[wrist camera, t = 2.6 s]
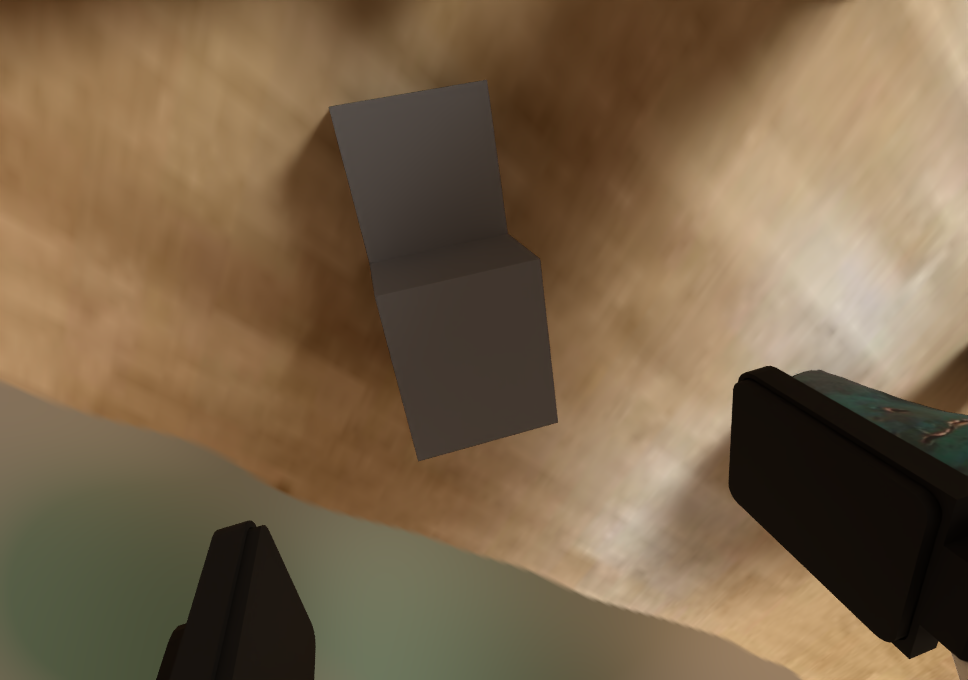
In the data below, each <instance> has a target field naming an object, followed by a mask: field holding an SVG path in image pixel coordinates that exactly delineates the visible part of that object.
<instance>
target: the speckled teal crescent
mask: <svg viewBox="0 0 968 680" xmlns="http://www.w3.org/2000/svg"><path fill="white" fill-rule="evenodd" d="M793 378H795V379H797V380H799V381H800V382H802V383H804V384H806V385H807V386H809V387H811V388H813V389H815V390H816V391H818V392H820V393H822V394H823V395H825V396H827V397H829V398H830V399H832V400H834V401H836V402H837V403H839V404H841V405H843V406H845V407H846V408H848V409H850V410H852V411H853V412H855V413H857V414H859V415H860V416H862V417H864V418H866V419H867V420H869V421H871V422H873V423H875V424H876V425H878V426H880V427H882V428H883V429H885V430H887V431H889V432H890V433H892V434H894V435H896V436H897V437H899V438H901V439H903V440H905V441H906V442H908V443H910V444H912V445H913V446H915V447H917V448H919V449H920V450H922V451H924V452H926V453H927V454H929V455H931V456H933V457H935V458H936V459H938V460H940V461H942V462H943V463H945V464H947V465H949V466H950V467H952V468H954V469H956V470H957V471H959V472H961V473H963V474H965V475H966V476H968V415H963V414H957V413H950V412H945V411H941V410H938V409H934V408H930V407H927V406H923V405H920V404H916V403H913V402H909V401H906V400H903V399H900V398H897V397H895V396H892V395H889V394H887V393H884V392H881V391H878V390H875V389H872V388H868V387H866V386H863V385H861V384H858V383H855V382H853V381H850V380H848V379H845V378H842V377H839V376H836V375H833V374H829V373H826V372H824V371H822V370H817V371H813V370H810V371H806V372H803V373H800V374H798V375H796V376H794V377H793Z"/></svg>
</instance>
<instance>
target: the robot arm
mask: <svg viewBox="0 0 968 680" xmlns="http://www.w3.org/2000/svg"><path fill="white" fill-rule="evenodd" d="M729 489H730V492H731V494H732V496H733V498H734V499H735V500H736V502H737V503H738V504H739V505H740V506H741V507H742V508H744V509H745V510H746V511H747V512H748V513H749V514H750V515H751V516H752V517H753V518H754V519H755V520H756V521H757V522H758V523H759V524H760V525H761V526H762V527H763V528H764V529H765V530H766V531H767V532H769V533H770V534H771V535H772V536H773V537H774V538H775V539H776V540H777V541H778V542H779V543H780V544H781V545H782V546H783V547H784V548H785V549H786V550H787V551H788V552H789V553H790V554H791V555H793V556H794V557H795V558H796V559H797V560H798V561H799V562H800V563H801V564H802V565H803V566H804V567H805V568H806V569H807V570H808V571H809V572H810V573H811V574H812V575H813V576H814V577H815V578H817V579H818V580H819V581H820V582H821V583H822V584H823V585H824V586H825V587H826V588H827V589H828V590H829V591H830V592H831V593H832V594H833V595H834V596H835V597H836V598H837V599H838V600H839V601H840V602H842V603H843V604H844V605H845V606H846V607H847V608H848V609H849V610H850V611H851V612H852V613H853V614H854V615H855V616H856V617H857V618H858V619H859V620H860V621H861V622H862V623H863V624H864V625H866V626H867V627H868V628H869V629H870V630H871V631H872V632H873V633H874V634H875V635H876V636H877V637H879V638H880V639H882V640H884V641H886V642H892V643H893V644H894V645H895V646H896V647H897V648H898V649H899V650H900V651H901V652H902V653H903V654H904V655H905V656H907V657H908V658H909V659H911V658H913V657H916V656H918V655H920V654H923V653H925V652H927V651H930V650H932V649H935V648H936V646H937V643H938V641H939V642H940V643H941V644H942V645H944V646H945V647H946V648H947V649H948V650H949V651H951V653H952V656H953V659H954V662H955V666H956V669H957V672H958V675H959V679H960V680H968V476H966V475H965V474H963V473H961V472H959V471H957V470H956V469H954V468H952V467H950V466H949V465H947V464H945V463H943V462H942V461H940V460H938V459H936V458H935V457H933V456H931V455H929V454H927V453H926V452H924V451H922V450H920V449H919V448H917V447H915V446H913V445H912V444H910V443H908V442H906V441H905V440H903V439H901V438H899V437H897V436H896V435H894V434H892V433H890V432H889V431H887V430H885V429H883V428H882V427H880V426H878V425H876V424H875V423H873V422H871V421H869V420H867V419H866V418H864V417H862V416H860V415H859V414H857V413H855V412H853V411H852V410H850V409H848V408H846V407H845V406H843V405H841V404H839V403H837V402H836V401H834V400H832V399H830V398H829V397H827V396H825V395H823V394H822V393H820V392H818V391H816V390H815V389H813V388H811V387H809V386H807V385H806V384H804V383H802V382H800V381H799V380H797V379H795V378H793V377H792V376H790V375H788V374H786V373H784V372H783V371H781V370H779V369H777V368H775V367H773V366H766V367H762V368H759V369H756V370H752V371H749V372H746V373H743V374H742V375H741V376H740V377H739V380H738V383H736V384H735V385H734V389H733V404H732V424H731V444H730V464H729ZM314 670H315V635H314V630H313V626H312V624H311V621H310V619H309V617H308V615H307V612H306V610H305V608H304V606H303V604H302V602H301V599H300V597H299V595H298V593H297V591H296V589H295V586H294V584H293V582H292V580H291V578H290V576H289V573H288V571H287V569H286V567H285V564H284V562H283V560H282V558H281V556H280V554H279V551H278V549H277V547H276V545H275V543H274V540H273V539H272V536H271V534H270V532H269V530H268V528H267V527H266V526H265V525H262V526H258V527H256V525H255V523H254V522H253V521H246V522H242V523H239V524H236V525H232V526H229V527H226V528H222V529H219V530H217V531H216V532H215V533H214V535H213V537H212V540H211V543H210V547H209V550H208V553H207V557H206V560H205V564H204V567H203V570H202V573H201V577H200V580H199V583H198V587H197V590H196V593H195V597H194V600H193V603H192V607H191V610H190V613H189V617H188V620H187V623H186V624H183V625H180V626H178V627H177V628H176V629H175V630H174V631H173V633H172V635H171V637H170V639H169V642H168V645H167V648H166V651H165V654H164V657H163V660H162V663H161V666H160V669H159V672H158V676H157V679H156V680H314Z"/></svg>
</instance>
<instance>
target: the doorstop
mask: <svg viewBox="0 0 968 680" xmlns="http://www.w3.org/2000/svg"><path fill="white" fill-rule="evenodd" d="M329 110H330V114H331V118H332V122H333V125H334V129H335V133H336V137H337V141H338V145H339V148H340V152H341V156H342V160H343V164H344V168H345V171H346V175H347V179H348V183H349V187H350V190H351V194H352V198H353V202H354V206H355V210H356V213H357V217H358V221H359V225H360V229H361V233H362V236H363V240H364V244H365V248H366V252H367V256H368V259H369V263H370V269H371V276H372V282H373V289H374V295H375V300H376V303H377V307H378V311H379V315H380V319H381V322H382V326H383V330H384V334H385V337H386V341H387V345H388V349H389V353H390V356H391V360H392V364H393V368H394V371H395V375H396V379H397V383H398V387H399V390H400V394H401V398H402V402H403V405H404V409H405V413H406V417H407V421H408V424H409V428H410V432H411V436H412V439H413V443H414V447H415V451H416V455H417V458H418V461H422V460H425V459H429V458H432V457H436V456H439V455H443V454H447V453H450V452H454V451H457V450H461V449H465V448H468V447H472V446H475V445H479V444H482V443H486V442H490V441H493V440H497V439H500V438H504V437H508V436H511V435H515V434H518V433H522V432H525V431H529V430H533V429H536V428H540V427H543V426H547V425H551V424H554V423H558V418H557V409H556V399H555V390H554V381H553V372H552V363H551V354H550V345H549V335H548V326H547V317H546V308H545V299H544V290H543V280H542V271H541V262H540V258H538V257H537V256H536V255H535V254H533V253H532V252H531V251H529V250H528V249H527V248H526V247H524V246H523V245H522V244H520V243H519V242H518V241H517V240H515V239H514V238H513V237H511V236H510V235H509V234H508V232H507V224H506V217H505V210H504V202H503V195H502V187H501V180H500V173H499V165H498V158H497V150H496V143H495V135H494V128H493V121H492V113H491V106H490V98H489V91H488V84H487V80H483V81H477V82H471V83H465V84H459V85H453V86H447V87H442V88H436V89H430V90H424V91H418V92H412V93H406V94H401V95H395V96H389V97H383V98H377V99H371V100H365V101H359V102H354V103H348V104H342V105H336V106H330V107H329Z"/></svg>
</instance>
